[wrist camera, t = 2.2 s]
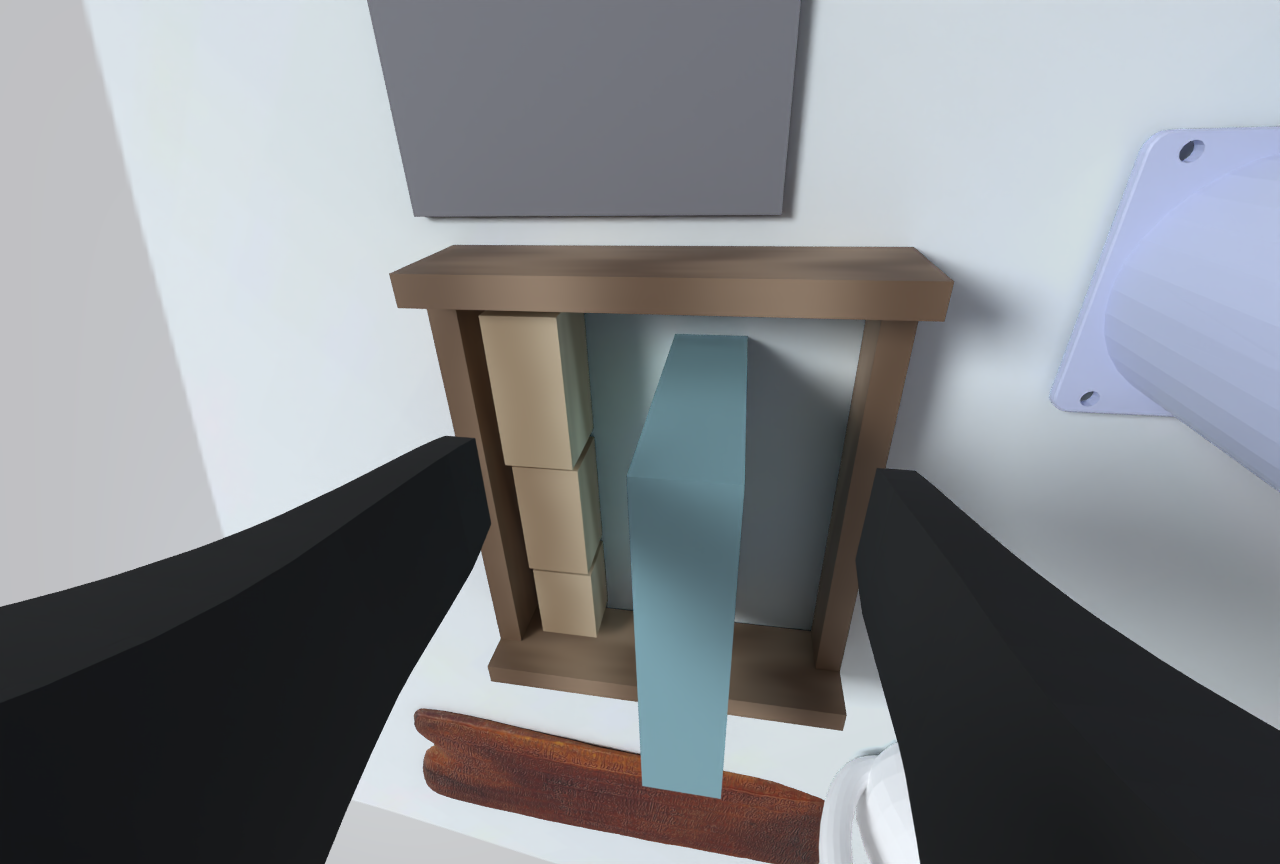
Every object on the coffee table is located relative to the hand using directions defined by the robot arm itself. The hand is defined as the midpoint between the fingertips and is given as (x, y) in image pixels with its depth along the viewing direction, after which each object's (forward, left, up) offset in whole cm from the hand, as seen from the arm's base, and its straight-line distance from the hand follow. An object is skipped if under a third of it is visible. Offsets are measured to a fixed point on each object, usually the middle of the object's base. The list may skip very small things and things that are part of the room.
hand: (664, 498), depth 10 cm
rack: (+1, +7, -10) cm, 12 cm away
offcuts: (+6, +7, -10) cm, 14 cm away
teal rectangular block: (0, +7, -11) cm, 12 cm away
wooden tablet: (+5, +31, -11) cm, 33 cm away
